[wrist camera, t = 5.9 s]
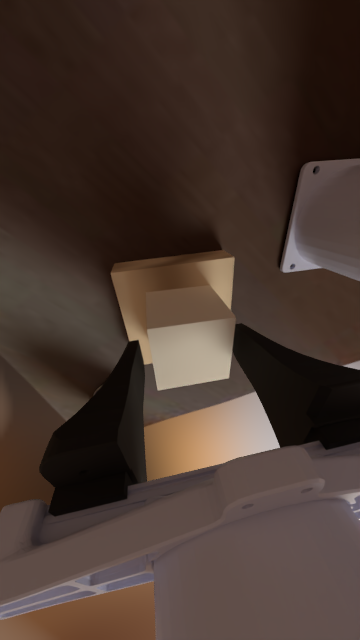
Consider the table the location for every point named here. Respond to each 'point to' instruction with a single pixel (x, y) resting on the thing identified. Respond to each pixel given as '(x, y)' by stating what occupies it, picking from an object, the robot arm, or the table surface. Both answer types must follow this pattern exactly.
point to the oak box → (167, 285)
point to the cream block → (189, 336)
